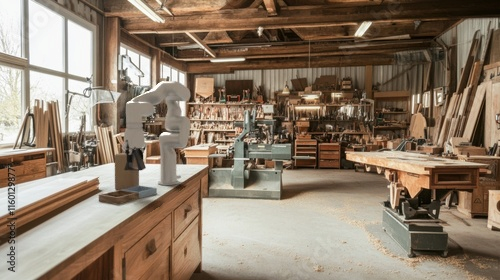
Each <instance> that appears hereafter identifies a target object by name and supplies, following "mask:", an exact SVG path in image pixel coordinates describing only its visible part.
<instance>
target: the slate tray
mask: <svg viewBox="0 0 500 280" xmlns="http://www.w3.org/2000/svg"><path fill="white" fill-rule="evenodd" d="M122 190H123V191H130V192H137V193H138V199H143V198H145V197H150V196H152V195H153V196H154V195H157V193H158V192H157V190H158V189H157V187H152V186H146V185H145V186H144V185H139V186H135V187H131V188H127V189H122Z"/></svg>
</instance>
